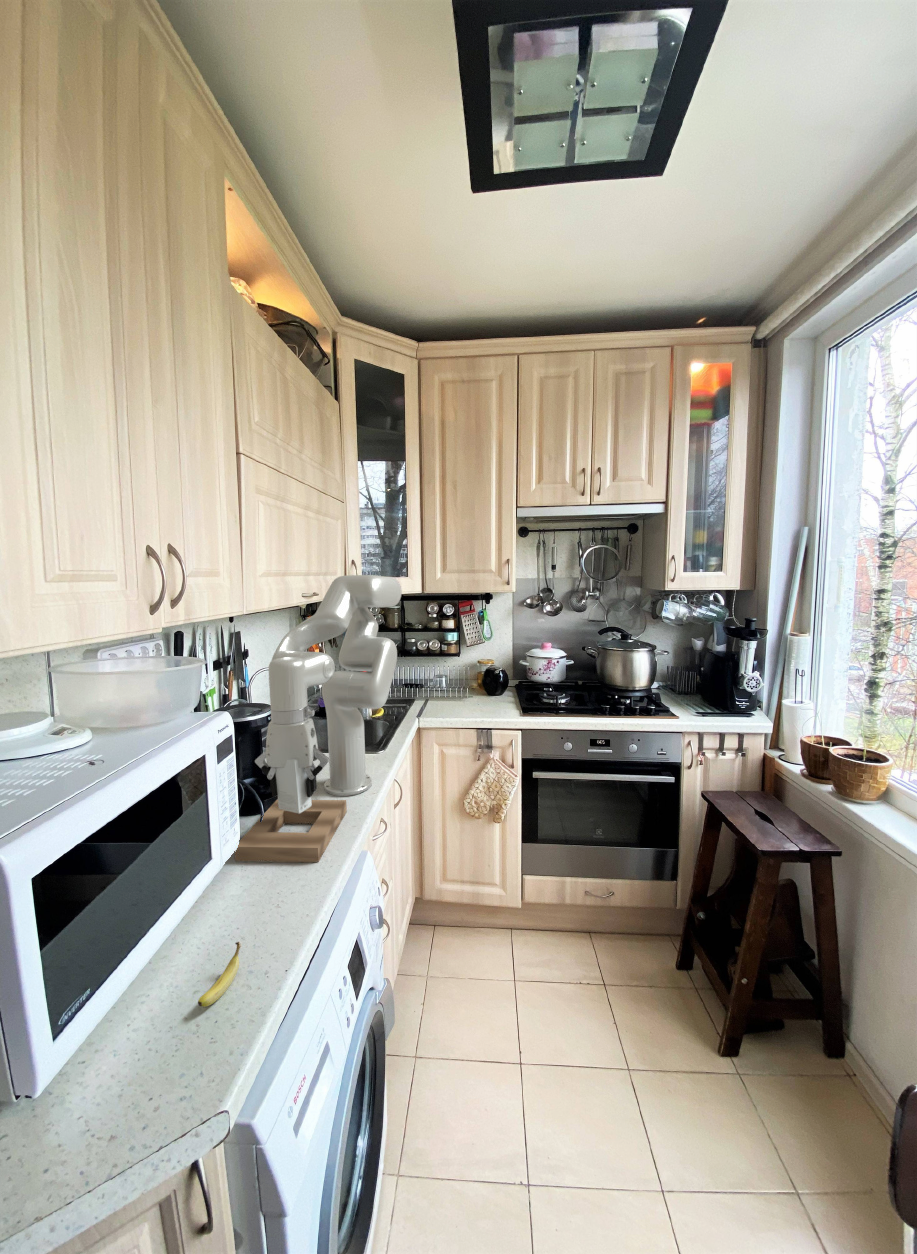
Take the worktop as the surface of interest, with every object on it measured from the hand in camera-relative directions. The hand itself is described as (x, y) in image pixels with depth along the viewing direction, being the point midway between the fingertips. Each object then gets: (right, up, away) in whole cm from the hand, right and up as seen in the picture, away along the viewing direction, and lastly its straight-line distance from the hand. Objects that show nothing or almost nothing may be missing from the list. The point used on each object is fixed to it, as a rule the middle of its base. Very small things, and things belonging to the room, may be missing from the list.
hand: (293, 793), depth 103 cm
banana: (+3, -14, -38) cm, 41 cm away
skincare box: (0, -3, 0) cm, 3 cm away
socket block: (0, -9, +1) cm, 9 cm away
